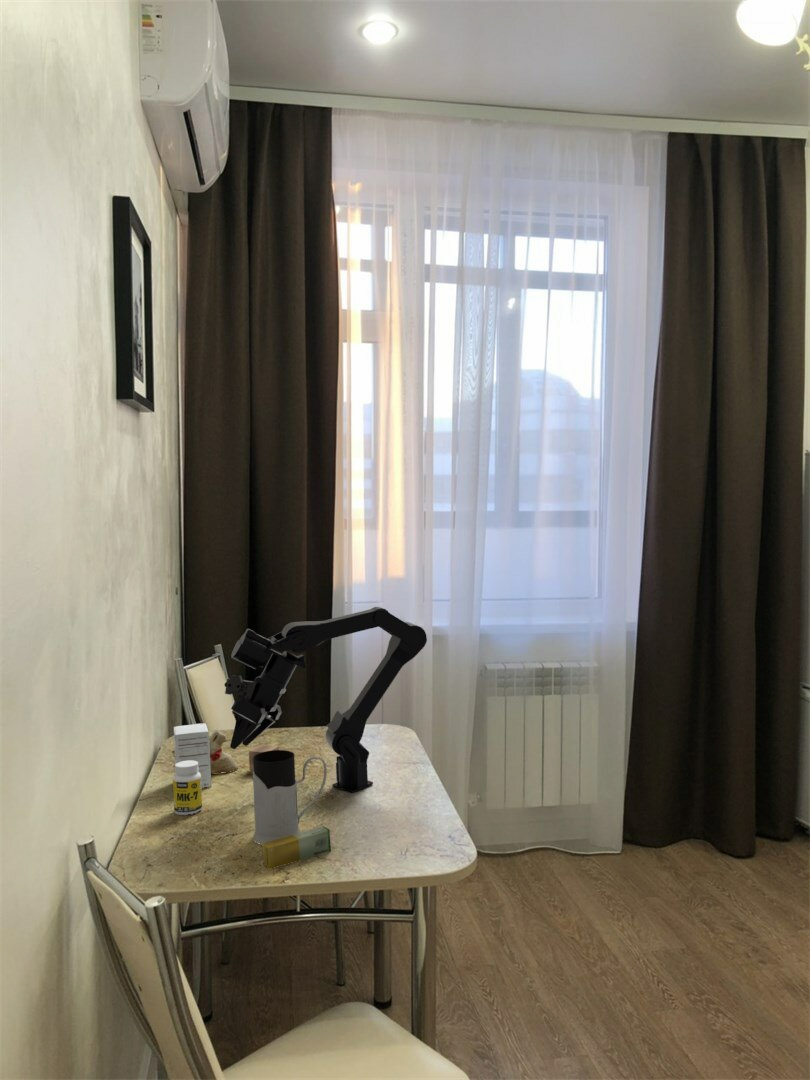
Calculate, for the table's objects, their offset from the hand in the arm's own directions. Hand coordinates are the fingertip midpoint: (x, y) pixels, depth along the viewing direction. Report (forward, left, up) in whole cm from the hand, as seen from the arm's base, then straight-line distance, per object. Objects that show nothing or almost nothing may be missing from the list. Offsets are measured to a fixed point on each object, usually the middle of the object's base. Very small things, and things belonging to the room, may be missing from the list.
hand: (238, 746), depth 169 cm
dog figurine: (+21, -10, -12) cm, 26 cm away
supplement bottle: (+5, +9, -12) cm, 16 cm away
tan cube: (+13, -17, -12) cm, 24 cm away
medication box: (-30, +11, -12) cm, 34 cm away
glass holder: (-21, +4, -12) cm, 25 cm away
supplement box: (+18, -1, -12) cm, 21 cm away
